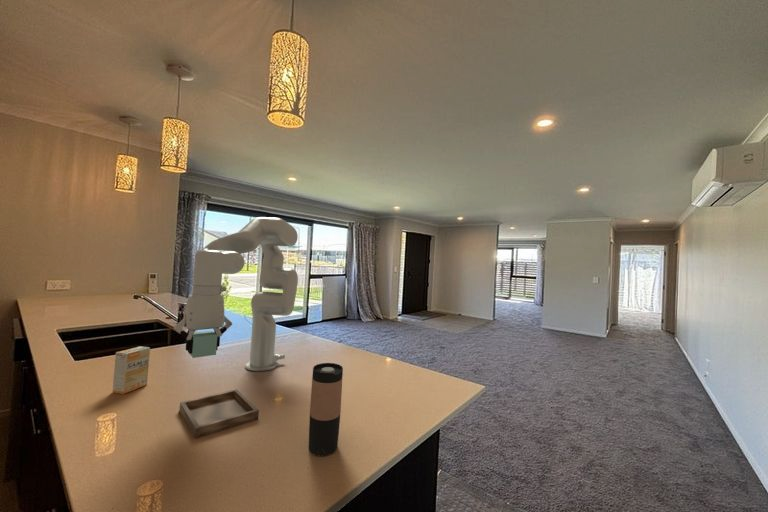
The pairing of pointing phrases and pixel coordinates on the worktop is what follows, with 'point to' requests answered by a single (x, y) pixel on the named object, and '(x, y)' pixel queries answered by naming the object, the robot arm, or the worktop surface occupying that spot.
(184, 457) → the worktop surface
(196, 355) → the teal cube
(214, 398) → the walnut tray
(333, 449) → the travel mug
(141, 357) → the supplement box
